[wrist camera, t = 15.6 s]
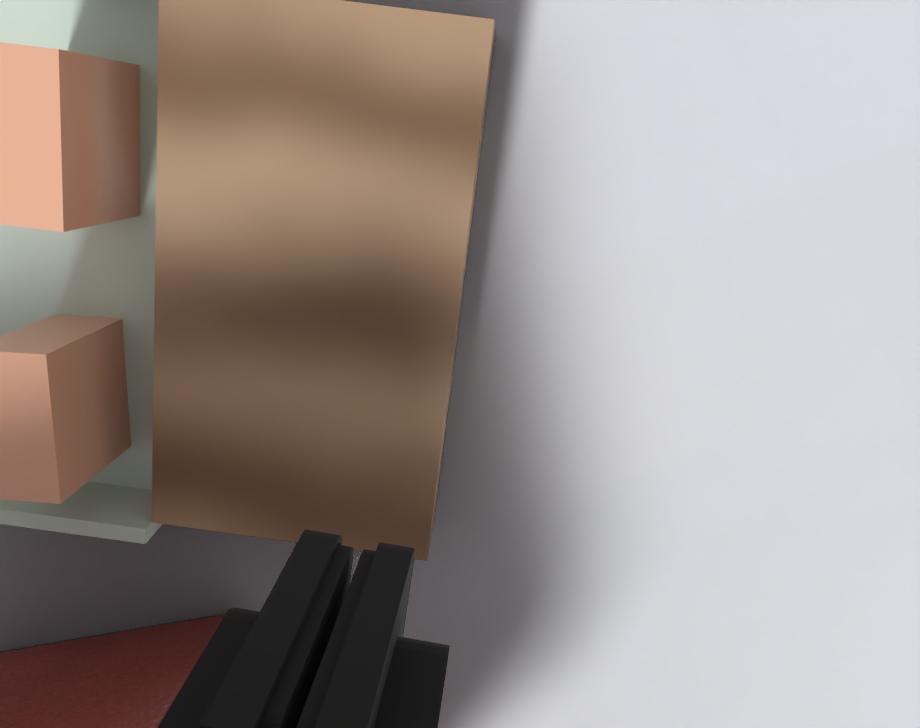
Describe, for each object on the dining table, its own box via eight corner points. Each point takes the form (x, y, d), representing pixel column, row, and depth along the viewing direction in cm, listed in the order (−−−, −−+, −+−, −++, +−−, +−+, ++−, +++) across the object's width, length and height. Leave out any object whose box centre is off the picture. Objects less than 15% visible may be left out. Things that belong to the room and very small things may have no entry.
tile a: (139, 64, 26) (66, 56, 26) (58, 49, 22) (-31, 38, 22) (139, 215, 28) (69, 207, 28) (63, 232, 23) (-21, 221, 23)
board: (196, -5, 26) (159, -23, 23) (495, 32, 26) (494, 19, 23) (184, 486, 31) (151, 522, 28) (434, 521, 31) (426, 560, 28)
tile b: (122, 318, 29) (55, 314, 29) (45, 354, 24) (-35, 349, 24) (131, 445, 30) (67, 441, 30) (60, 503, 25) (-16, 498, 26)
